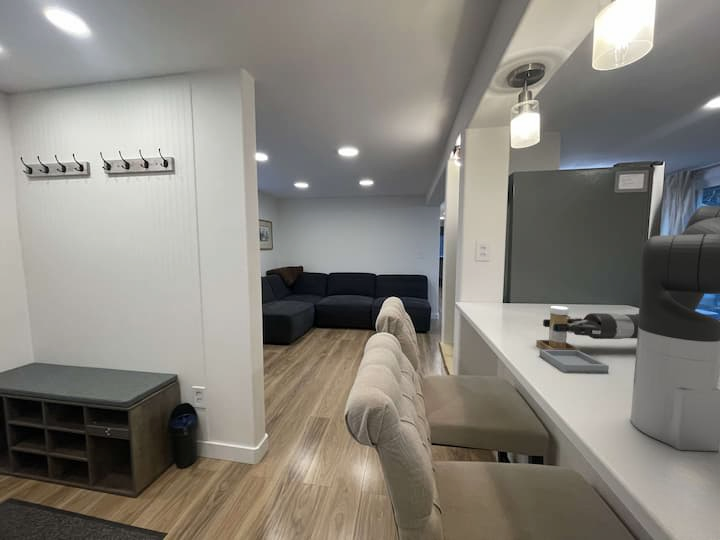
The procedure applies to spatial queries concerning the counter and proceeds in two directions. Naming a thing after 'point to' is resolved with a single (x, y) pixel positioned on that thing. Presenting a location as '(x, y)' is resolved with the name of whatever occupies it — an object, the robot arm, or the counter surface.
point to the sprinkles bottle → (557, 317)
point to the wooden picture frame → (545, 346)
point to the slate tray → (573, 361)
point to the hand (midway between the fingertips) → (549, 325)
